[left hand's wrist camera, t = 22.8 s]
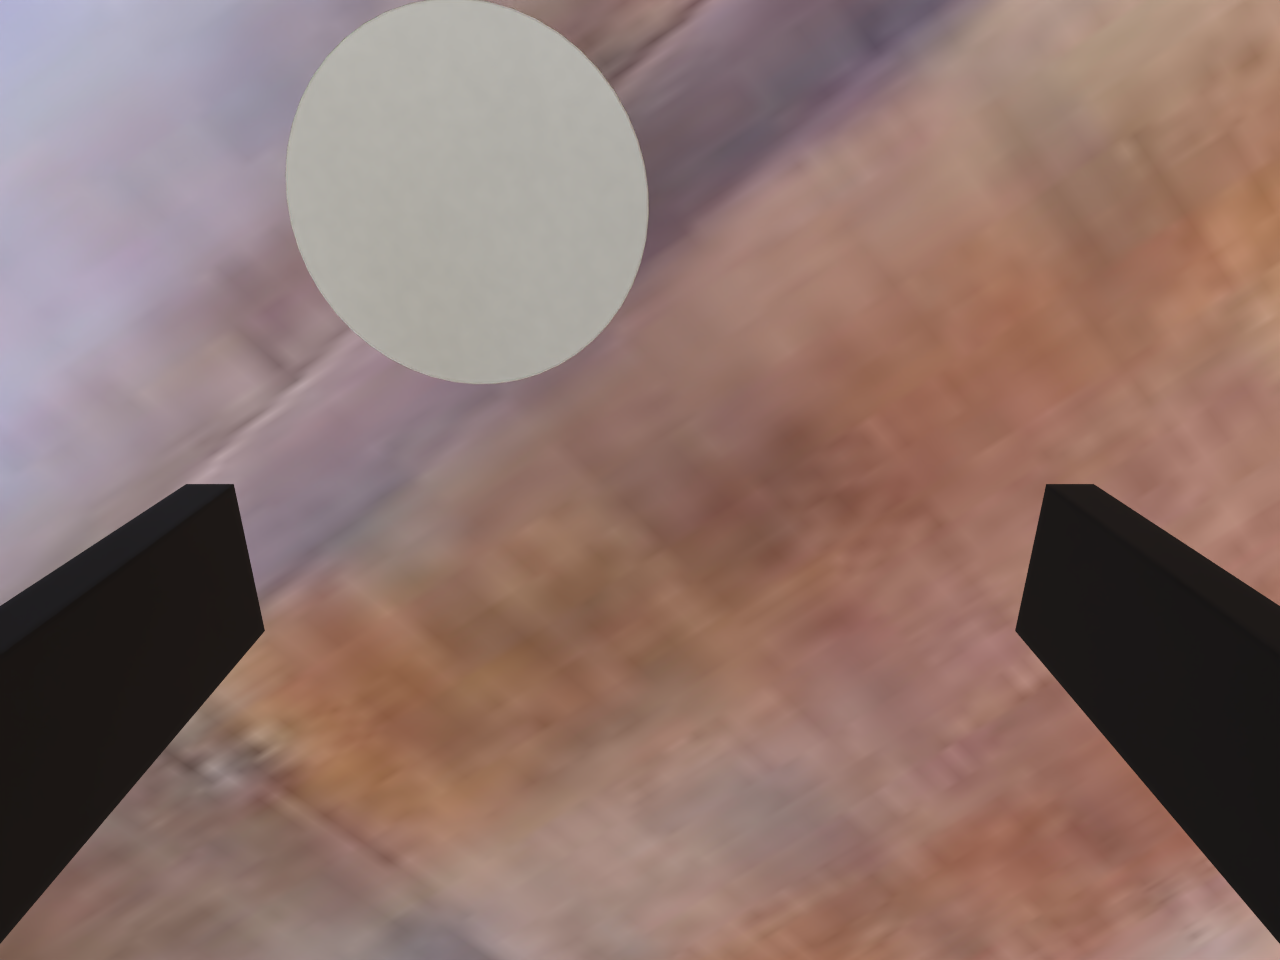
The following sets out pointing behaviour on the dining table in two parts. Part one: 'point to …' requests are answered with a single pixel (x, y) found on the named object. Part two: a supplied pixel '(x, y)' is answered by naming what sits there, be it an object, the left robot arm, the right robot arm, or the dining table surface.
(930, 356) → the dining table surface
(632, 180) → the can
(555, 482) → the dining table surface
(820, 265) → the dining table surface
